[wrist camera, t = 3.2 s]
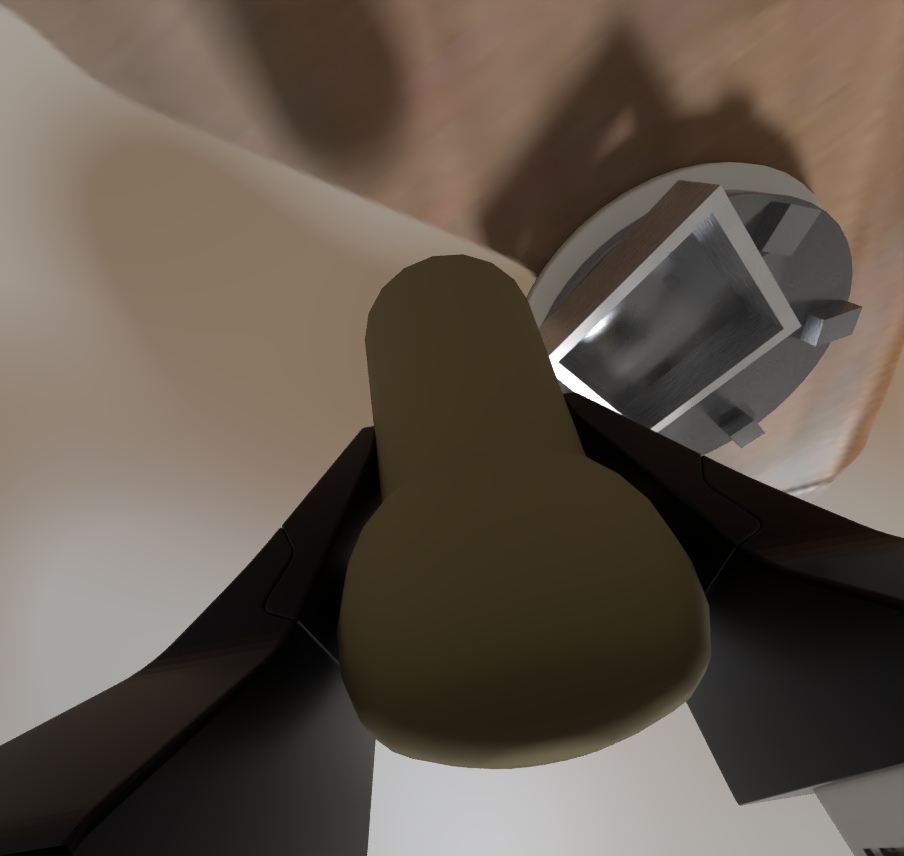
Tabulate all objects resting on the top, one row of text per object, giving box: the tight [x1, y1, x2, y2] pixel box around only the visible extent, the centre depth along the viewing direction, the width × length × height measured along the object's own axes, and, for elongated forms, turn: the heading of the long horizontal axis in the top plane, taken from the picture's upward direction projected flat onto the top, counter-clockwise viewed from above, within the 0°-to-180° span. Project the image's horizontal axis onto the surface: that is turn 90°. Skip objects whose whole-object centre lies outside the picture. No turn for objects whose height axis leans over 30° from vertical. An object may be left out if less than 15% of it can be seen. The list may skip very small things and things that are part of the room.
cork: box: [337, 255, 711, 769], centre depth 8 cm, size 6×6×11 cm
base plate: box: [526, 162, 823, 328], centre depth 23 cm, size 19×19×1 cm
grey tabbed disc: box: [538, 180, 862, 456], centre depth 20 cm, size 17×17×4 cm
